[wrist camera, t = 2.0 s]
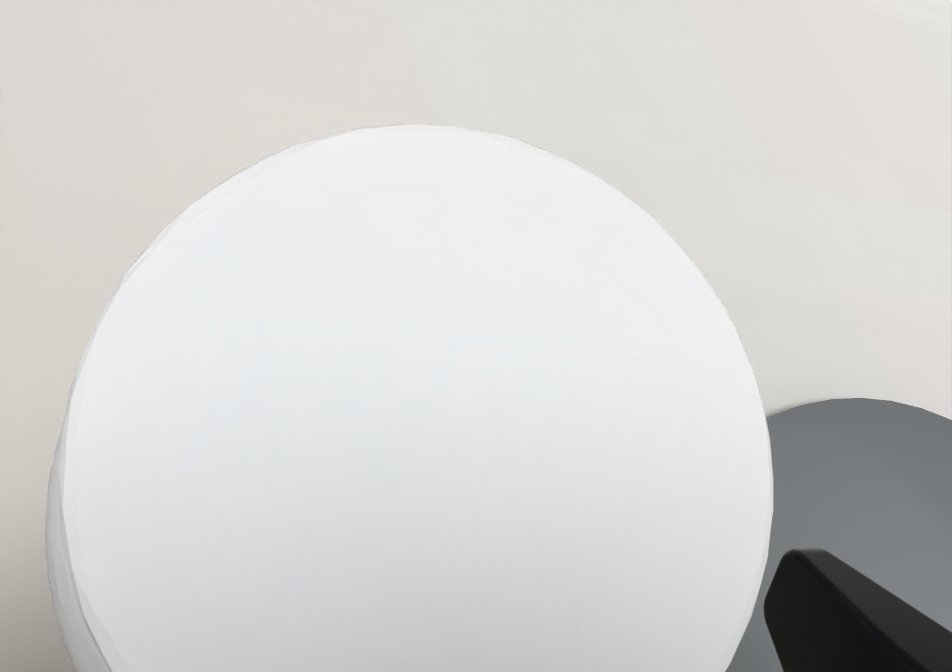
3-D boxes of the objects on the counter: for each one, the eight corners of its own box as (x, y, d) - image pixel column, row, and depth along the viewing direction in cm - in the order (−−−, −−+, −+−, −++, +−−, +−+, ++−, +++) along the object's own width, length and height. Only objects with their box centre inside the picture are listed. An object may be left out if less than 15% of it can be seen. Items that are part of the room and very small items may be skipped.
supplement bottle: (136, 432, 17) (-249, 77, 5) (432, 344, 19) (681, -67, 7) (226, 760, 16) (3, 1386, 4) (534, 628, 18) (1068, 745, 5)
